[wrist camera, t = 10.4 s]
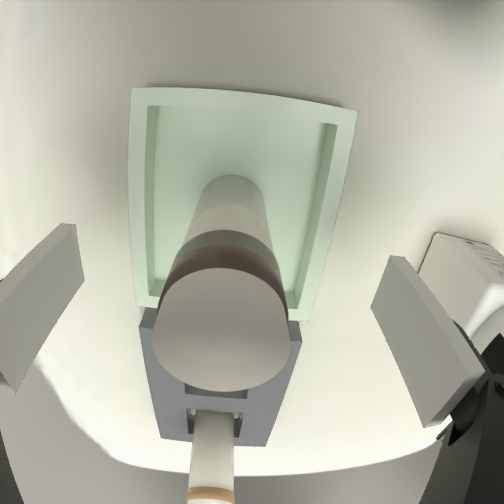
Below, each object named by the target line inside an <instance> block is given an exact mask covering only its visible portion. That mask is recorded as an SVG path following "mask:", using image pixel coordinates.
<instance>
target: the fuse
mask: <svg viewBox="0 0 504 504" xmlns="http://www.w3.org/2000/svg"><path fill="white" fill-rule="evenodd" d="M233 480H234V412H219V411H208V410H198V409H196V413H195V422H194V432H193V442H192V452H191V463H190V474H189V486H188V489H187V496H186V502H187V504H235V494H234V492H233Z"/></svg>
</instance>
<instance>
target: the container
mask: <svg viewBox="0 0 504 504" xmlns="http://www.w3.org/2000/svg"><path fill="white" fill-rule="evenodd" d="M418 275H419V276H420V277H421V278H422V280H423V281H424V282H425V284H426V285H427V286H428V288H429V289H430V290H431V292H432V293H433V294H434V296H435V297H436V298H437V300H438V301H439V302H440V304H441V305H442V307H443V308H444V309H445V311H446V312H447V313H448V315H449V316H450V318H451V319H452V320H454V321H455V322H456V323H457V324H458V325H460V326H461V327H462V328H463V330H464V331H465V333H466V334H467V335H468V337H469V340H471V341H472V343H473V344H474V347H476V349H477V350H478V352H479V354H480V355H481V357H482V358H483V360H484V361H485V363H486V365H487V366H488V368H489V369H490V371H491V373H492V374H501V375H504V256H503V255H502V254H500V253H499V252H498V251H497V250H496V249H495V248H493V247H492V246H490V245H486V244H482V243H478V242H474V241H470V240H466V239H462V238H458V237H454V236H449V235H445V234H441V233H436V234H435V235H434V237H433V240H432V242H431V245H430V247H429V250H428V252H427V255H426V257H425V260H424V262H423V264H422V267H421V269H420V271H419V274H418Z"/></svg>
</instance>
